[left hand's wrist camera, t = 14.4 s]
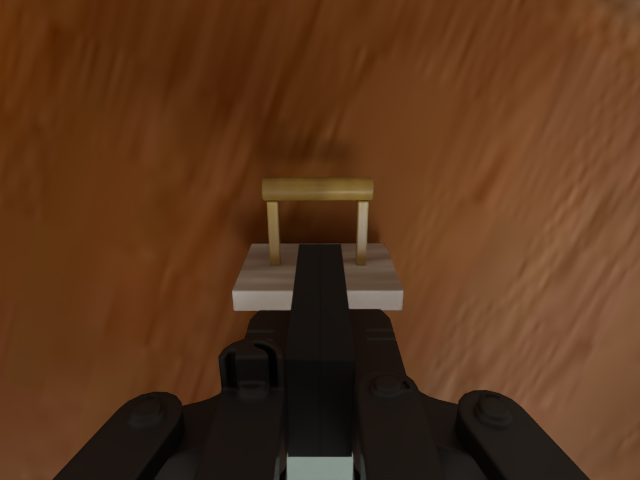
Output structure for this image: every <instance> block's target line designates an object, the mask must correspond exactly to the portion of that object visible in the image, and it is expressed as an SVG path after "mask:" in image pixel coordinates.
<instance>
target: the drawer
mask: <svg viewBox="0 0 640 480" xmlns="http://www.w3.org/2000/svg"><path fill="white" fill-rule="evenodd" d="M373 193H374V183H373V178H371V177H356V178H263V179H262V198H263V200H264V201H267V218H268V237H269V244H252V245H251V247H250V249H249V252H248V254H247V257H246V259H245V261H244V264H243V266H242V269H241V271H240V273H239V276H238V278H237V281H236V283H235V286H234V288H233V290H232V297H233V308H234V311H260V310H291V304H292V296H293V288H294V280H295V272H296V264H297V256H298V249H299V244H280V227H279V202H278V201H290V200H357V219H356V243H341V249H342V256H343V264H344V272H345V280H346V288H347V296H348V304H349V309H381V310H402V306H403V293H404V291H403V288H402V286H401V283H400V281H399V278H398V276H397V273H396V271H395V268H394V266H393V263H392V261H391V258H390V255H389V253H388V250H387V248H386V245H385V244H384V243H367V232H368V207H369V202H368V200H372V199H373Z"/></svg>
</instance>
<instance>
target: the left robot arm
mask: <svg viewBox="0 0 640 480" xmlns="http://www.w3.org/2000/svg"><path fill="white" fill-rule="evenodd" d="M218 358H219V367H220V376H221V386H222V390H221V393H219V394H218V395H216V396H214V397H212V398H210V399H207V400H204V401H201V402H197V403H192V404H188V405H184V406H182V403H181V401H180V400H179V399H178V398H177V396H175V395H173V394H170V393H167V392H151V393H147V394H143V395H140V396H138V397H136V398H134V399H132V400H129V401H128V402H127V403H125V404H124V405H123V406H122V407H121V408H119V409H118V410H117V411H116V412H115V413H114V414H113V416H112V417H111V418H110V419H109V420H108V421H107V422H106V423H105V424H104V425H103V426H102V427H101V428H100V429H99V430H98V432H97V433H96V434H95V435H94V436H93V437H92V438H91V439H90V440H89V441H88V442H87V443H86V444H85V445H84V446H83V448H82V449H81V450H80V451H79V452H78V453H77V454H76V455H75V456H74V457H73V458H72V459H71V460H70V461H69V462H68V464H67V465H66V466H65V467H64V468H63V469H62V470H61V471H60V472H59V473H58V474H57V475H56V476H55V477H54V478H53V480H287V454H288V457H352V452H353V480H590V479H589V478H588V477H587V476H586V475H585V474H584V473H583V472H582V471H581V470H580V468H579V467H578V466H577V465H576V464H575V463H574V462H573V461H572V460H571V459H570V458H569V457H568V456H567V455H566V454H565V453H564V452H563V450H562V449H561V448H560V447H559V446H558V445H557V444H556V443H555V442H554V441H553V440H552V439H551V438H550V437H549V436H548V435H547V433H546V432H545V431H544V430H543V429H542V428H541V427H540V426H539V425H538V424H537V423H536V422H535V421H534V420H533V419H532V418H531V417H530V415H529V414H528V413H527V412H526V411H525V410H524V409H523V408H522V407H521V406H519V405H518V404H517V403H516V402H515V401H513V400H512V399H510V398H508V397H506V396H504V395H502V394H500V393H496V392H492V391H487V390H474V391H471V392H469V393H466V394H464V395H463V396H462V397H461V399H460V400H459V403H458V404H454V403H450V402H446V401H442V400H438V399H435V398H432V397H429V396H427V395H425V394H423V393H421V392H420V391H419V390H418V388H417V386H416V384H415V383H414V381H413V380H412V379H411V378H409V377H408V376H407V375H406V372H405V369H404V365H403V362H402V359H401V355H400V352H399V348H398V345H397V342H396V338H395V335H394V332H393V328H392V324H391V321H390V318H389V317H388V316H387V315H386V314H385V313H384V312H383V311H382V310H381V309H349V304H348V296H347V288H346V280H345V272H344V264H343V256H342V249H341V244H299V249H298V256H297V264H296V272H295V280H294V288H293V296H292V304H291V310H260V311H259V312H258V313H257V314H256V315H255V316H254V317H253V318H252V319H251V320H250V323H249V326H248V329H247V333H246V336H245V339H243V340H240V341H238V342H235V343H232V344H231V345H229V346H228V347H226V348H225V349H223V351H222V352H221V354H220V355H219V357H218Z"/></svg>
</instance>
